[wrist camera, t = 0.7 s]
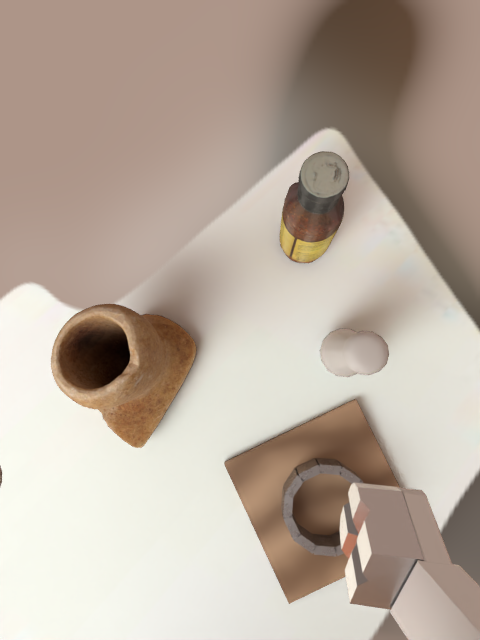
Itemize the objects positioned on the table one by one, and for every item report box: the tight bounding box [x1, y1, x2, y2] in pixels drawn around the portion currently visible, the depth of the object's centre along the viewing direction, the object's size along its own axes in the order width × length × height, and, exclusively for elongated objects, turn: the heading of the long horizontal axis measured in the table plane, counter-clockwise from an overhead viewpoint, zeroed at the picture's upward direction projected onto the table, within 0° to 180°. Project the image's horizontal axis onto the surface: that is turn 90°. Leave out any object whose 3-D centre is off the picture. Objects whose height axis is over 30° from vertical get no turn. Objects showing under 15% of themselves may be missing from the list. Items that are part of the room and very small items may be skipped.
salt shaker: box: [320, 329, 389, 377], centre depth 46 cm, size 6×6×13 cm
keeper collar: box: [281, 458, 363, 557], centre depth 49 cm, size 10×10×3 cm
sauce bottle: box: [280, 151, 349, 263], centre depth 44 cm, size 7×6×20 cm
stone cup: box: [51, 304, 196, 448], centre depth 45 cm, size 15×12×15 cm
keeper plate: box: [224, 399, 400, 604], centre depth 51 cm, size 18×18×1 cm
